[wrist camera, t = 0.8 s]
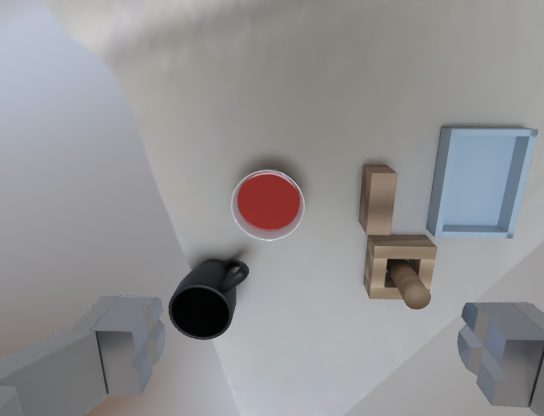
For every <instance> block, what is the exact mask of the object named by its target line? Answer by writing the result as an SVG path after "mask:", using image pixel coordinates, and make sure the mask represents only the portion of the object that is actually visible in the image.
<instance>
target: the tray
mask: <svg viewBox="0 0 544 416" xmlns="http://www.w3.org/2000/svg"><path fill="white" fill-rule="evenodd" d="M537 133H538V129H531V128H524V127H441V134H440V141H439V148H438V154H437V161H436V168H435V174H434V181H433V188H432V194H431V201H430V208H429V214H428V221H427V228H426V229H427V230H428V231H429V232H430V233H431V234H432V235H433V236H434V237H458V238H513V234H514V230H515V226H516V222H517V218H518V213H519V209H520V205H521V201H522V196H523V192H524V188H525V184H526V179H527V175H528V171H529V167H530V162H531V158H532V154H533V150H534V146H535V141H536V137H537Z"/></svg>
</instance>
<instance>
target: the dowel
mask: <svg viewBox="0 0 544 416" xmlns="http://www.w3.org/2000/svg"><path fill="white" fill-rule="evenodd" d="M386 269H387V271H388V272H389V274H390V276H391V278H392V280H393V281H394V283H395V285H396V287H397V289H398V290H399V292H400V294H401V296H402V298H403V299H404V301H405V303H406V305H407V306H408V307H410V308H411V309H422V308H424V307H426V306H427V305H428V304H429V302H430V300H431V295H430V293H429V291H428V290H427V288H426V287H425V286H424V284H423V283H422V281H421V280H420V278H419V277H418V276H417V274H416V273H415V271H414V270H413V269H412V267H411V266H410V264H409V263H408V261H407V260H406V259H387V266H386Z"/></svg>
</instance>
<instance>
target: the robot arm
mask: <svg viewBox="0 0 544 416" xmlns="http://www.w3.org/2000/svg"><path fill="white" fill-rule="evenodd" d="M162 312H163V309H162V302H161V300H160V298H159V297H146V296H121V295H106V296H102V297H101V298H100V299H99V300H98V301H97V302H96V303H95V304H94V305H93V306H92V307H91V308H90V309H89V310H88V311H87V312H86V313H85V314H84V315H83V316H82V317H81V318H80V319H79V320H78V321H77V322H76V323H75V324H74V325H73V326H72V327H71V328H70V329H69V330H68V331H60V332H58V333H56V334H54V335H51V336H49V337H47V338H45V339H43V340H40V341H38V342H36V343H34V344H32V345H29V346H27V347H25V348H23V349H21V350H19V351H16V352H14V353H12V354H10V355H8V356H5V357H3V358H1V359H0V416H84V415H86V414H87V413H88V412H89V411H91V410H92V409H93V408H94V407H95V406H97V405H98V404H99V403H100V402H102V401H103V400H104V399H105V398H106V397H107V395H142V393H143V391H144V389H145V387H146V385H147V384H148V382H149V380H150V378H151V376H152V368H151V366H153V365H154V364H155V363H157V362H158V361H159V360H160V357H161V355H162V353H163V349H164V345H165V325H164V324H163V323H162V322H161V321H160V320H159V317H160V315H161V313H162ZM462 318H463V320H464V321H465V323H466V325H465V326H464V327H463V328H462V329H461V330H460V331H459V334H458V349H459V355H460V357H461V360H462V362H463V363H464V365H465V367H466V368H467V369H468V370H469V371H471V372H472V373H474V374H476V375H477V376H478V377H477V382H476V383H477V385H478V386H479V388H480V389H481V391H482V392H483V394H484V395H485V396H486V398H487V399H488V401H489V402H490V404H491V405H492V406H510V407H526V408H530V410H531V411H532V412H534V413H535V414H536V415H538V416H544V313H543V312H542V311H541V310H539V309H538V308H537V307H536V306H535V305H533V304H531V303H528V302H503V303H502V302H501V303H500V302H497V303H496V302H494V303H466V304H465V306H464V308H463V311H462Z"/></svg>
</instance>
